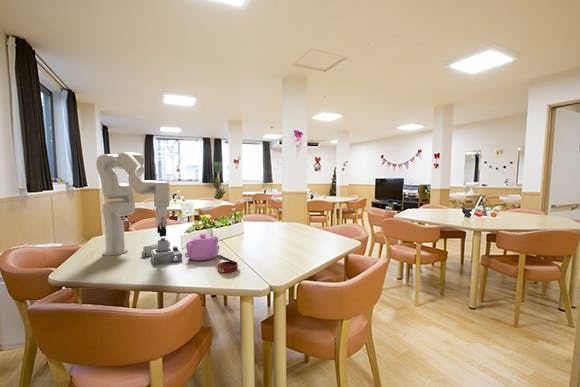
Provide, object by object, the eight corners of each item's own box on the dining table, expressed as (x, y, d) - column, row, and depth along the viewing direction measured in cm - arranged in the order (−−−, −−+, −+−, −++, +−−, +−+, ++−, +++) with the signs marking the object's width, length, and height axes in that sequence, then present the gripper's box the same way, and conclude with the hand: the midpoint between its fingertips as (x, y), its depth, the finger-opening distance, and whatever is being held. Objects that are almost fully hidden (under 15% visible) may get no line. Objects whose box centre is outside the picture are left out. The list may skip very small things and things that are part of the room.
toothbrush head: (171, 240, 173) (148, 245, 148) (170, 250, 172) (147, 256, 147) (163, 240, 173) (139, 244, 148) (163, 250, 172) (139, 256, 148)
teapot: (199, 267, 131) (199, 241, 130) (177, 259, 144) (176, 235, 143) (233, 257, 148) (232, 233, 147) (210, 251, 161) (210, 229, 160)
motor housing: (150, 258, 146) (150, 248, 145) (177, 254, 153) (177, 245, 153) (154, 266, 132) (153, 256, 132) (182, 261, 140) (182, 251, 139)
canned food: (218, 278, 129) (215, 258, 132) (238, 273, 132) (234, 254, 136) (218, 275, 119) (215, 254, 122) (240, 270, 122) (236, 250, 126)
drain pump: (157, 252, 143) (157, 238, 143) (167, 251, 146) (167, 237, 146) (158, 254, 139) (158, 239, 139) (168, 253, 142) (168, 238, 141)
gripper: (152, 202, 146) (152, 232, 147) (156, 206, 132) (155, 238, 133) (166, 202, 151) (166, 230, 152) (171, 205, 136) (171, 237, 137)
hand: (161, 234), depth 142 cm, fingers open, 9 cm apart
